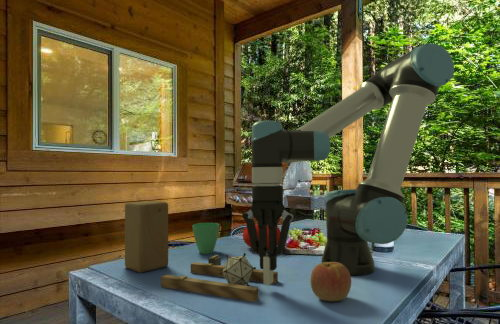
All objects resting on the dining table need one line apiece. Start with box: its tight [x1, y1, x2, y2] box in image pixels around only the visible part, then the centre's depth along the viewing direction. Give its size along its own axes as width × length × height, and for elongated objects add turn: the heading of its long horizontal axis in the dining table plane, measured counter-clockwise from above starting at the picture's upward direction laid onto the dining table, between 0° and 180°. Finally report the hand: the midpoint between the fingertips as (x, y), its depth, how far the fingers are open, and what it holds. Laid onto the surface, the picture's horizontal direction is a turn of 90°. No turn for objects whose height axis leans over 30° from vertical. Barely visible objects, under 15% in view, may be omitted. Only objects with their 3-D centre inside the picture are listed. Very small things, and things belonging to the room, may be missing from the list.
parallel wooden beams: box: [160, 254, 279, 303], centre depth 85 cm, size 26×18×4 cm
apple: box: [310, 262, 352, 302], centre depth 73 cm, size 9×9×8 cm
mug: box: [192, 222, 220, 255], centre depth 121 cm, size 15×10×10 cm
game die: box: [219, 252, 257, 286], centre depth 82 cm, size 9×8×10 cm
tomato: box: [242, 222, 281, 252], centre depth 124 cm, size 14×16×10 cm
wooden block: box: [124, 200, 169, 274], centre depth 101 cm, size 10×10×20 cm
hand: (268, 282), depth 79 cm, fingers closed
